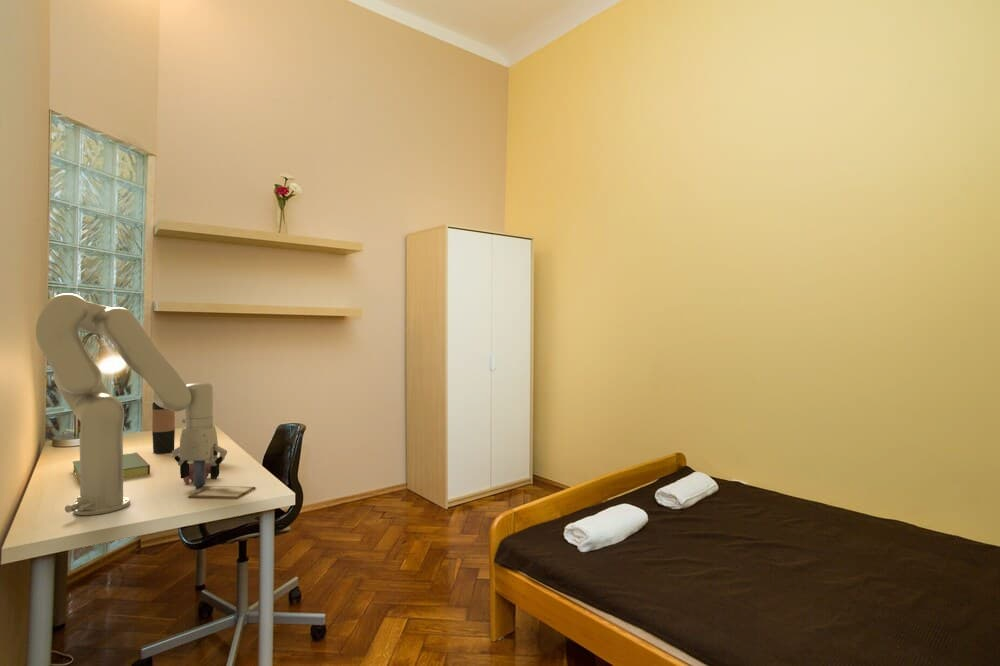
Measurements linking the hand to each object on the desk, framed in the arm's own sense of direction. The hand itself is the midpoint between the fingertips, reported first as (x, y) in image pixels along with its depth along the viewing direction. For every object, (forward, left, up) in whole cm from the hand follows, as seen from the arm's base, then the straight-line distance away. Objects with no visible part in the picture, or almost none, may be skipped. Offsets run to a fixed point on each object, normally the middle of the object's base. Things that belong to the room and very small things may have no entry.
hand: (199, 477), depth 163 cm
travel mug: (+45, +46, -4) cm, 64 cm away
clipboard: (-4, -10, -3) cm, 11 cm away
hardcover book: (+15, +43, -4) cm, 45 cm away
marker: (0, 0, -3) cm, 3 cm away
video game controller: (+8, +6, -4) cm, 11 cm away
